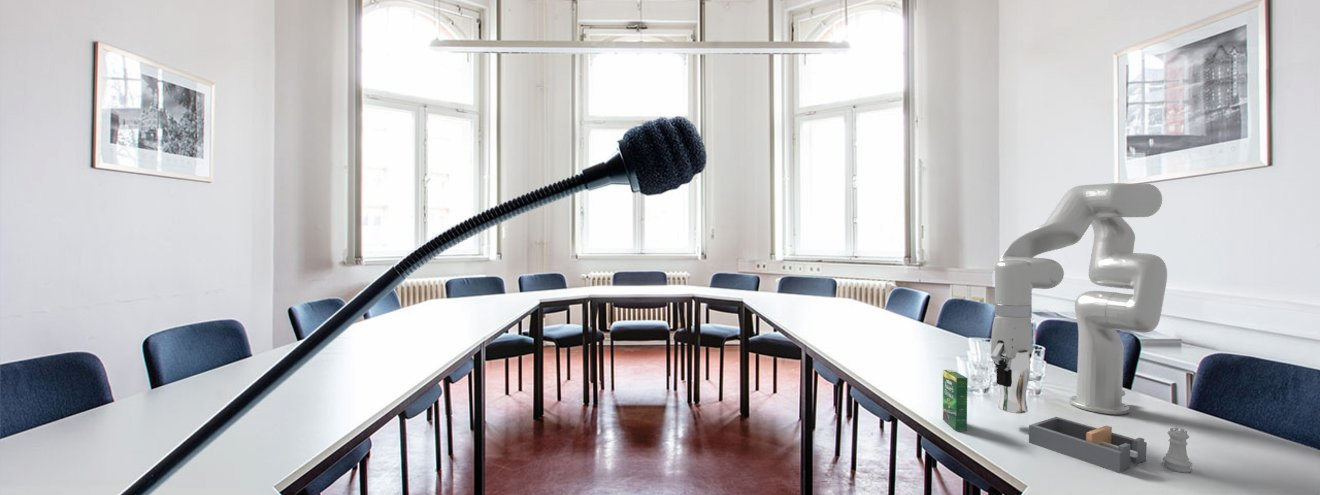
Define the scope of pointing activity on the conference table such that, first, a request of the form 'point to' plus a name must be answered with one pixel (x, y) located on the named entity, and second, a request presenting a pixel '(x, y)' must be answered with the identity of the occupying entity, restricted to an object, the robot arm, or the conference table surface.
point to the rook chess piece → (1177, 452)
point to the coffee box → (955, 400)
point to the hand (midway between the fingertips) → (1012, 382)
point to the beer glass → (1016, 385)
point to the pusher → (1104, 438)
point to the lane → (1086, 444)
